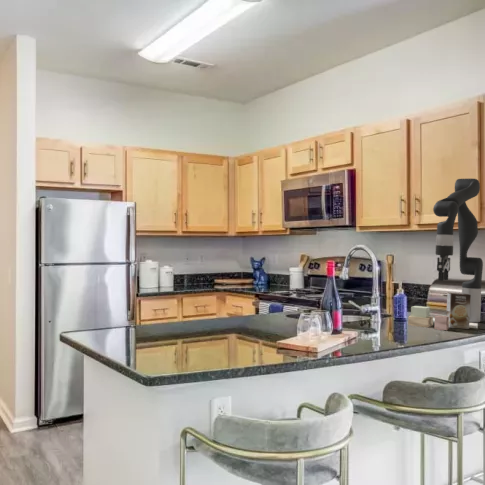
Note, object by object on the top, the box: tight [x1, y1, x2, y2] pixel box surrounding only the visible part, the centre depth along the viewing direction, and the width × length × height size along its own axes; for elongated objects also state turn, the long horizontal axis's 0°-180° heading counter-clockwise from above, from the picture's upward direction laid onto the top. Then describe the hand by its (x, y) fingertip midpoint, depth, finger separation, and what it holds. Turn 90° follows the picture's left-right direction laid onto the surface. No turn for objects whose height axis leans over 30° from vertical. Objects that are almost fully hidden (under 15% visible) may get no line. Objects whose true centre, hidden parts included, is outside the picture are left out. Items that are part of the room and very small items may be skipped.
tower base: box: [407, 315, 434, 328], centre depth 257 cm, size 9×9×4 cm
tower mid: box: [410, 305, 431, 318], centre depth 257 cm, size 7×7×4 cm
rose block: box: [434, 315, 450, 331], centre depth 246 cm, size 5×5×6 cm
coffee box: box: [445, 292, 471, 330], centre depth 254 cm, size 9×6×16 cm
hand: (443, 280), depth 246 cm, fingers open, 8 cm apart
